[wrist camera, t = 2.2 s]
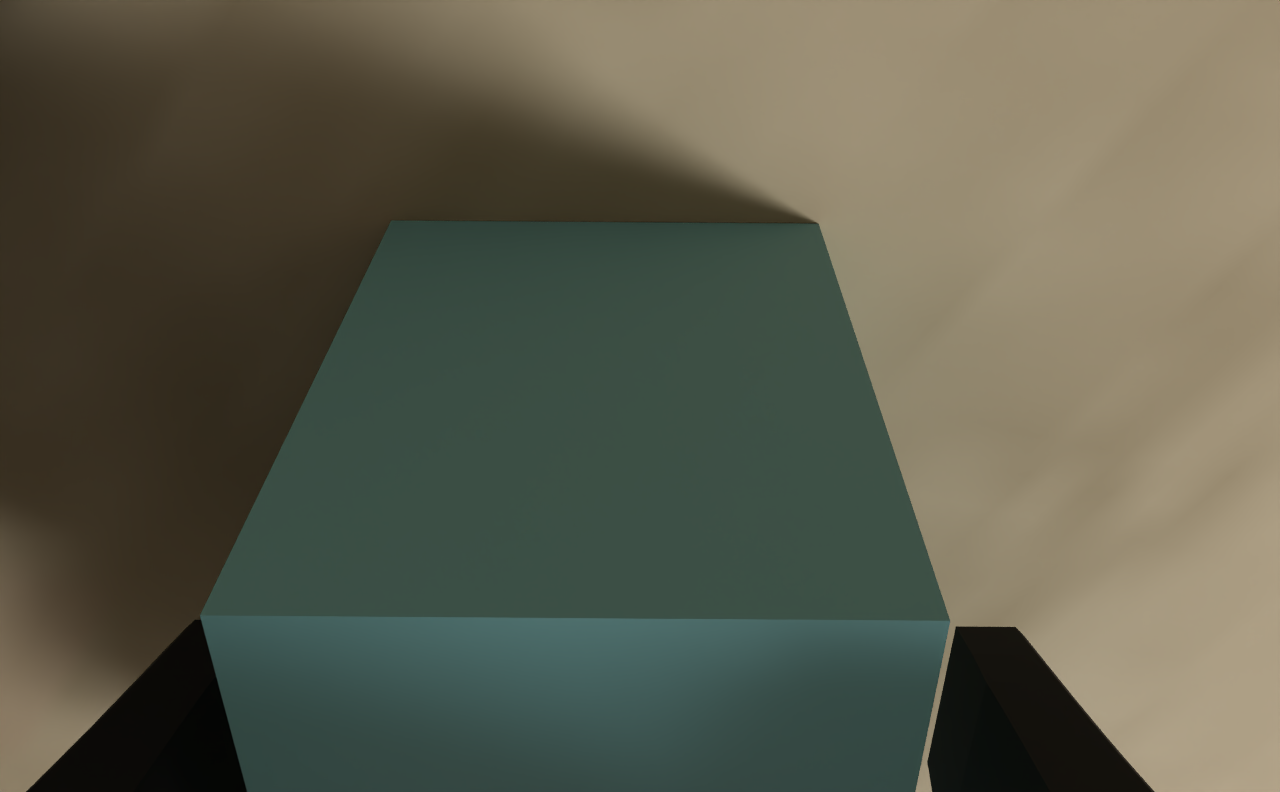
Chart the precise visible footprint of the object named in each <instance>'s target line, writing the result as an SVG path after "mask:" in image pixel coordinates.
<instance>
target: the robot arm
mask: <svg viewBox="0 0 1280 792" xmlns="http://www.w3.org/2000/svg"><path fill="white" fill-rule="evenodd" d="M928 768H929V774H930V780H931V786H932V792H1154V791H1153V790H1152V788H1151V787H1150V786H1149V785H1148V784H1147V783H1146V782H1145V781H1144V779H1143V778H1142V777H1141V776H1140V775H1139V774H1138V773H1137V772H1136V770H1135V769H1134V768H1133V767H1132V766H1131V765H1130V764H1129V763H1128V761H1127V760H1126V759H1125V758H1124V757H1123V756H1122V755H1121V753H1120V752H1119V751H1118V750H1117V749H1116V748H1115V746H1114V745H1113V744H1112V743H1111V742H1110V740H1109V739H1108V738H1107V737H1106V736H1105V735H1104V733H1103V732H1102V731H1101V730H1100V729H1099V727H1098V726H1097V725H1096V724H1095V723H1094V721H1093V720H1092V719H1091V718H1090V717H1089V715H1088V714H1087V713H1086V712H1085V711H1084V709H1083V708H1082V707H1081V706H1080V705H1079V703H1078V702H1077V701H1076V700H1075V698H1074V697H1073V696H1072V695H1071V693H1070V692H1069V691H1068V690H1067V689H1066V687H1065V686H1064V685H1063V684H1062V682H1061V681H1060V680H1059V679H1058V677H1057V676H1056V675H1055V674H1054V672H1053V671H1052V670H1051V669H1050V668H1049V666H1048V665H1047V664H1046V663H1045V661H1044V660H1043V659H1042V658H1041V656H1040V655H1039V654H1038V653H1037V651H1036V650H1035V649H1034V648H1033V646H1032V645H1031V644H1030V643H1029V641H1028V640H1027V639H1026V638H1025V637H1024V635H1023V634H1022V633H1021V632H1020V631H1019V630H1018V629H1017V628H1016V627H956V629H955V634H954V639H953V643H952V648H951V653H950V658H949V662H948V667H947V672H946V677H945V681H944V686H943V691H942V696H941V700H940V705H939V710H938V715H937V719H936V724H935V729H934V734H933V738H932V743H931V748H930V753H929V757H928ZM26 792H247V789H246V786H245V782H244V778H243V774H242V771H241V767H240V763H239V759H238V756H237V752H236V748H235V745H234V741H233V737H232V733H231V730H230V726H229V722H228V718H227V715H226V711H225V707H224V703H223V700H222V696H221V692H220V689H219V685H218V681H217V677H216V674H215V670H214V666H213V662H212V659H211V655H210V651H209V647H208V644H207V640H206V636H205V633H204V629H203V625H202V621H201V620H194V621H193V622H192V623H191V624H190V625H189V626H188V627H187V628H186V629H185V630H184V631H183V632H182V633H181V634H180V635H179V636H178V637H177V638H176V639H175V640H174V641H173V642H172V643H171V644H170V645H169V646H168V647H167V648H166V649H165V650H164V651H163V652H162V654H161V655H160V656H159V657H158V658H157V659H156V660H155V661H154V662H153V663H152V664H151V665H150V666H149V667H148V668H147V669H146V670H145V671H144V672H143V673H142V675H141V676H140V677H139V678H138V679H137V680H136V681H135V682H134V683H133V684H132V685H131V686H130V687H129V688H128V689H127V690H126V691H125V692H124V693H123V694H122V696H121V697H120V698H119V699H118V700H117V701H116V702H115V703H114V704H113V705H112V706H111V707H110V708H109V709H108V710H107V711H106V712H105V713H104V714H103V715H102V716H101V717H100V718H99V719H98V720H97V721H96V722H95V724H94V725H93V726H92V727H91V728H90V729H89V730H88V731H87V732H86V733H85V734H84V735H83V736H82V737H81V738H80V739H79V740H78V741H77V742H76V743H75V744H74V745H73V746H72V747H71V748H70V749H69V750H68V751H67V752H66V753H65V754H64V755H63V756H62V757H61V758H60V759H59V760H58V761H57V762H56V763H55V764H54V765H53V766H52V767H51V768H50V769H49V770H48V771H47V772H46V773H45V774H44V775H43V776H42V777H41V778H40V779H39V780H38V781H37V782H36V783H35V784H34V785H33V786H31V787H30V788H29V789H28V790H27V791H26Z"/></svg>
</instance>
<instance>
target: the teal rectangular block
mask: <svg viewBox="0 0 1280 792" xmlns="http://www.w3.org/2000/svg"><path fill="white" fill-rule="evenodd" d="M200 618H201V621H202V625H203V629H204V633H205V636H206V640H207V644H208V647H209V651H210V655H211V659H212V662H213V666H214V670H215V674H216V677H217V681H218V685H219V689H220V692H221V696H222V700H223V703H224V707H225V711H226V715H227V718H228V722H229V726H230V730H231V733H232V737H233V741H234V745H235V748H236V752H237V756H238V759H239V763H240V767H241V771H242V774H243V778H244V782H245V786H246V789H247V792H915V790H916V785H917V780H918V776H919V771H920V766H921V761H922V756H923V751H924V746H925V741H926V736H927V731H928V727H929V722H930V717H931V712H932V707H933V702H934V697H935V692H936V687H937V683H938V678H939V673H940V668H941V663H942V658H943V653H944V648H945V643H946V639H947V634H948V629H949V624H950V619H949V616H948V613H947V610H946V607H945V604H944V601H943V598H942V595H941V592H940V589H939V586H938V583H937V580H936V577H935V574H934V571H933V568H932V565H931V562H930V559H929V556H928V553H927V550H926V547H925V544H924V541H923V538H922V535H921V531H920V528H919V525H918V522H917V519H916V516H915V513H914V510H913V507H912V504H911V501H910V498H909V495H908V492H907V489H906V486H905V483H904V480H903V477H902V474H901V471H900V468H899V465H898V462H897V459H896V456H895V453H894V450H893V447H892V444H891V441H890V438H889V435H888V432H887V429H886V426H885V423H884V420H883V417H882V414H881V411H880V408H879V405H878V402H877V399H876V396H875V393H874V390H873V387H872V384H871V381H870V378H869V375H868V372H867V369H866V366H865V363H864V360H863V357H862V353H861V350H860V347H859V344H858V341H857V338H856V335H855V332H854V329H853V326H852V323H851V320H850V317H849V314H848V311H847V308H846V305H845V302H844V299H843V296H842V293H841V290H840V287H839V284H838V281H837V278H836V275H835V272H834V269H833V266H832V263H831V260H830V257H829V254H828V251H827V248H826V245H825V242H824V239H823V236H822V233H821V230H820V227H819V224H801V223H664V222H528V221H392V220H391V222H390V224H389V226H388V228H387V230H386V232H385V234H384V236H383V239H382V241H381V243H380V245H379V247H378V249H377V251H376V253H375V255H374V257H373V259H372V261H371V263H370V265H369V267H368V270H367V272H366V274H365V276H364V278H363V280H362V282H361V284H360V286H359V288H358V290H357V292H356V294H355V296H354V298H353V300H352V303H351V305H350V307H349V309H348V311H347V313H346V315H345V317H344V319H343V321H342V323H341V325H340V327H339V329H338V331H337V334H336V336H335V338H334V340H333V342H332V344H331V346H330V348H329V350H328V352H327V354H326V356H325V358H324V360H323V362H322V364H321V367H320V369H319V371H318V373H317V375H316V377H315V379H314V381H313V383H312V385H311V387H310V389H309V391H308V393H307V395H306V398H305V400H304V402H303V404H302V406H301V408H300V410H299V412H298V414H297V416H296V418H295V420H294V422H293V424H292V426H291V429H290V431H289V433H288V435H287V437H286V439H285V441H284V443H283V445H282V447H281V449H280V451H279V453H278V455H277V457H276V459H275V462H274V464H273V466H272V468H271V470H270V472H269V474H268V476H267V478H266V480H265V482H264V484H263V486H262V488H261V490H260V493H259V495H258V497H257V499H256V501H255V503H254V505H253V507H252V509H251V511H250V513H249V515H248V517H247V519H246V521H245V523H244V526H243V528H242V530H241V532H240V534H239V536H238V538H237V540H236V542H235V544H234V546H233V548H232V550H231V552H230V554H229V557H228V559H227V561H226V563H225V565H224V567H223V569H222V571H221V573H220V575H219V577H218V579H217V581H216V583H215V585H214V588H213V590H212V592H211V594H210V596H209V598H208V600H207V602H206V604H205V606H204V608H203V610H202V612H201V614H200Z"/></svg>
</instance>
